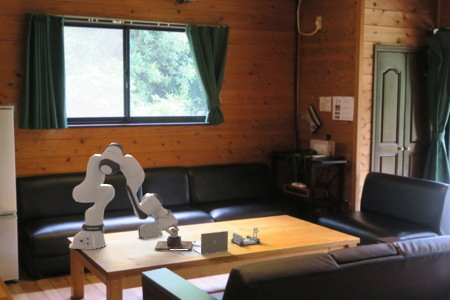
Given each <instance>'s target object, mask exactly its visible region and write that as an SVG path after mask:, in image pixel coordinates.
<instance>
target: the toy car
mask: <svg viewBox="0 0 450 300" xmlns="http://www.w3.org/2000/svg"><path fill="white" fill-rule="evenodd" d="M258 233H259V229H258V227H255V226H254V227H253V236H250V235H246V237H245V238H244V237H243V235H241V234H239V233H237V232H232V239H230V242H231V243H232V244H233V243H234V244H236V245H238V246H239V247H244V246H245V245H254V244H256V245H260V244H261V239H260V237H259V238H258V237H257V235H258Z"/></svg>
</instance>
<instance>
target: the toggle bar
mask: <svg viewBox="0 0 450 300" xmlns="http://www.w3.org/2000/svg"><path fill="white" fill-rule="evenodd" d="M169 230H170V231H172V232H173V234H171V235H170V234H169V236H170V239H178V236H179V231H178V229H176V228H174V227H173V228H172V227H171V229H170V228H169Z"/></svg>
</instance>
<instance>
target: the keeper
mask: <svg viewBox="0 0 450 300" xmlns="http://www.w3.org/2000/svg"><path fill="white" fill-rule="evenodd" d="M192 242H194V241H191V240H190V241H189V240H188V241H186V240H185V241H183V240H182V236H181V235H178V239H170V235H169V236H167V239H166V240H158V241H157V243H156V244H155V247H154V251H155V250H170V249H188V250H191V251H192V248H191V246H192V247H193V244H192Z"/></svg>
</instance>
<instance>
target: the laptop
mask: <svg viewBox="0 0 450 300" xmlns="http://www.w3.org/2000/svg"><path fill="white" fill-rule="evenodd" d="M200 239H201V240H200V248H201V254H204V255H207V254H206V253H212V254H219V253H218V252H220V253H227V252H229V251H228V250H229V249H228V248H229V231H228V230H225V231H216V232H208V233H207V232H206V233H201V234H200ZM216 252H217V253H216Z"/></svg>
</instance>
